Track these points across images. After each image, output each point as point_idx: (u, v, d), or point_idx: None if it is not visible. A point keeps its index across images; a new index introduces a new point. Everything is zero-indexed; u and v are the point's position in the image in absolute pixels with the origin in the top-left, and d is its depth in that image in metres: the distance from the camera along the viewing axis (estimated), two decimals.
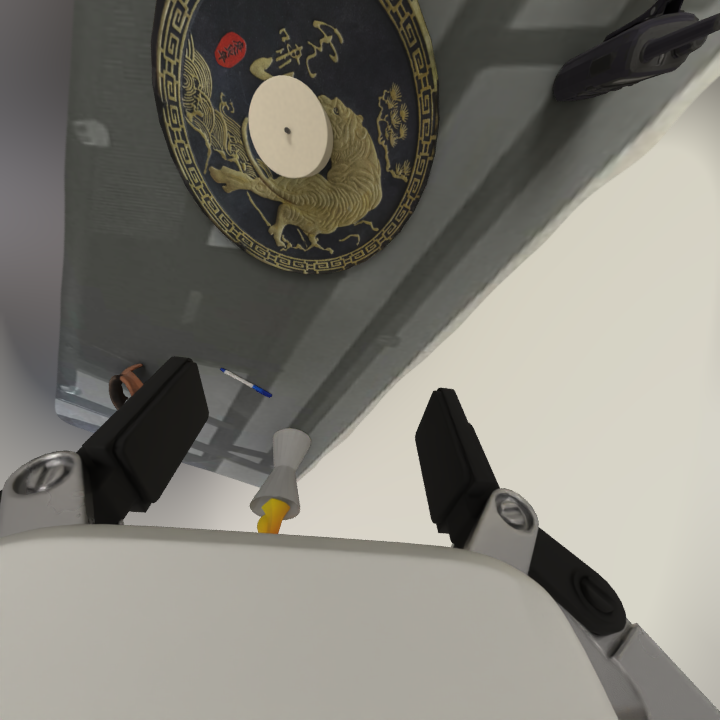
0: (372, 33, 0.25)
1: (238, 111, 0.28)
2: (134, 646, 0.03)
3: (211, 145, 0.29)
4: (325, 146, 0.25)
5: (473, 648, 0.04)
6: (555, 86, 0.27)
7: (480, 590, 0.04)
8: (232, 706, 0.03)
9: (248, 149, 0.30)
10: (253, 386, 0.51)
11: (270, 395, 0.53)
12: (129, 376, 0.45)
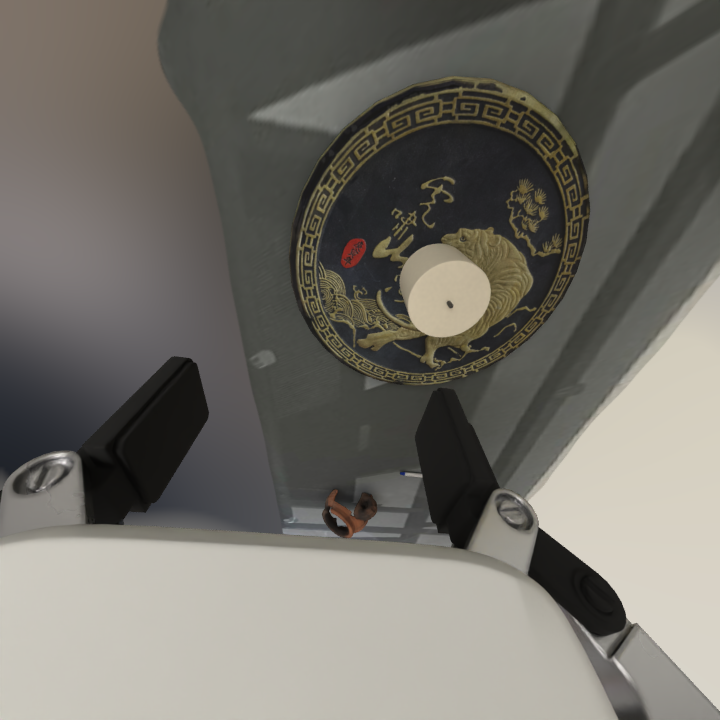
0: (484, 155, 0.22)
1: (370, 290, 0.29)
2: (135, 646, 0.03)
3: (354, 325, 0.31)
4: (489, 294, 0.23)
5: (473, 648, 0.04)
6: None
7: (480, 590, 0.04)
8: (232, 706, 0.03)
9: (386, 312, 0.30)
10: None
11: None
12: (336, 507, 0.51)
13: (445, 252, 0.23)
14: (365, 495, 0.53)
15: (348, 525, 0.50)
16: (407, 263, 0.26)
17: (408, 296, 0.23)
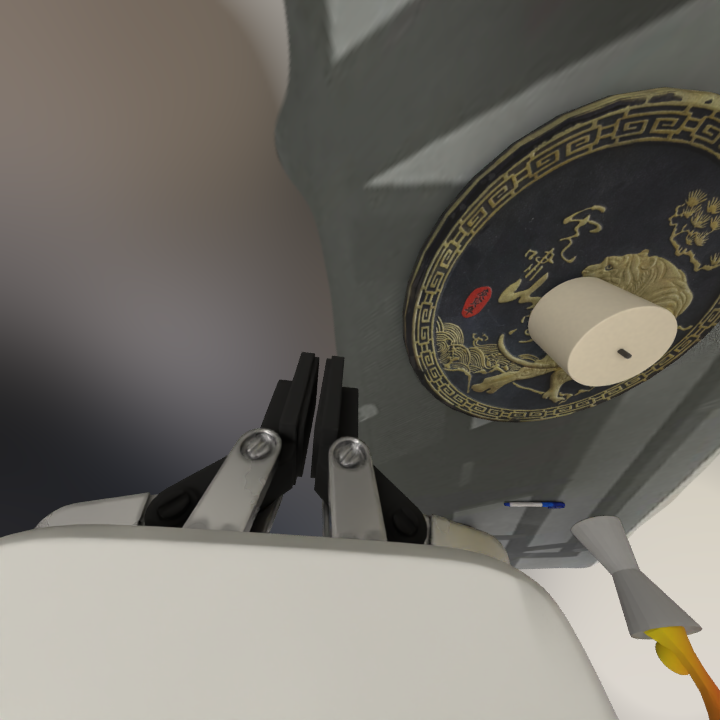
0: (647, 173, 0.19)
1: (492, 335, 0.26)
2: (135, 646, 0.03)
3: (470, 372, 0.29)
4: (674, 335, 0.19)
5: (473, 648, 0.04)
6: None
7: (480, 590, 0.04)
8: (232, 706, 0.03)
9: (508, 354, 0.27)
10: (543, 505, 0.47)
11: (563, 504, 0.47)
12: None
13: (607, 293, 0.20)
14: None
15: None
16: (543, 304, 0.23)
17: (569, 350, 0.20)
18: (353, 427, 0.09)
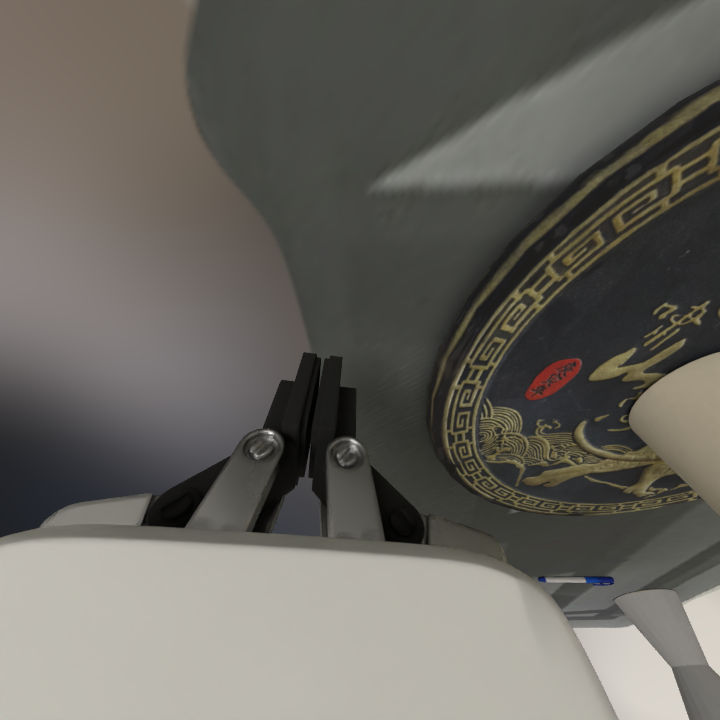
0: None
1: (568, 422, 0.17)
2: (134, 647, 0.03)
3: (524, 464, 0.19)
4: None
5: (473, 648, 0.04)
6: None
7: (480, 590, 0.04)
8: (232, 706, 0.03)
9: (587, 445, 0.18)
10: (586, 581, 0.38)
11: (612, 580, 0.38)
12: None
13: None
14: None
15: None
16: (672, 390, 0.14)
17: None
18: (351, 427, 0.09)
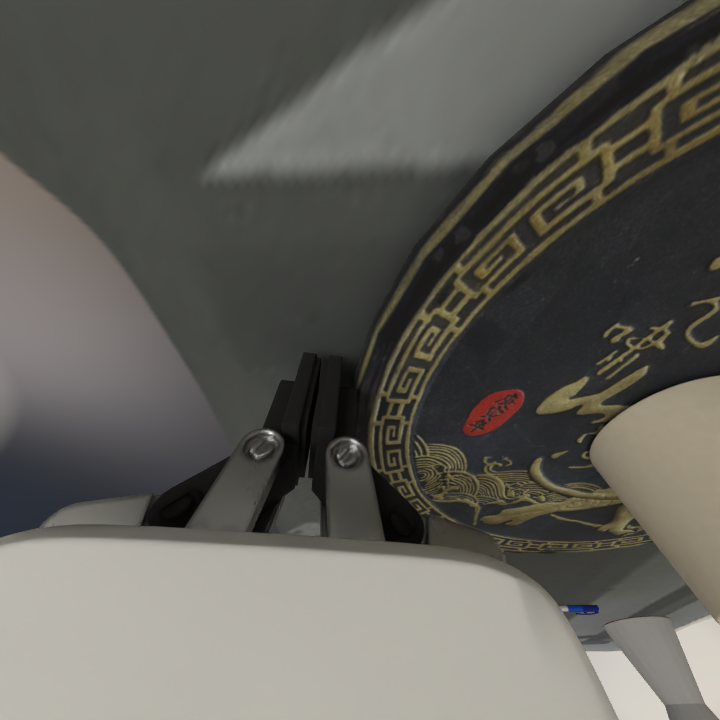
0: None
1: (520, 459, 0.14)
2: (135, 646, 0.03)
3: (478, 503, 0.17)
4: None
5: (473, 648, 0.04)
6: None
7: (480, 590, 0.04)
8: (232, 706, 0.03)
9: (547, 483, 0.15)
10: (569, 609, 0.35)
11: (596, 609, 0.35)
12: None
13: None
14: None
15: None
16: (634, 428, 0.11)
17: None
18: (351, 427, 0.09)
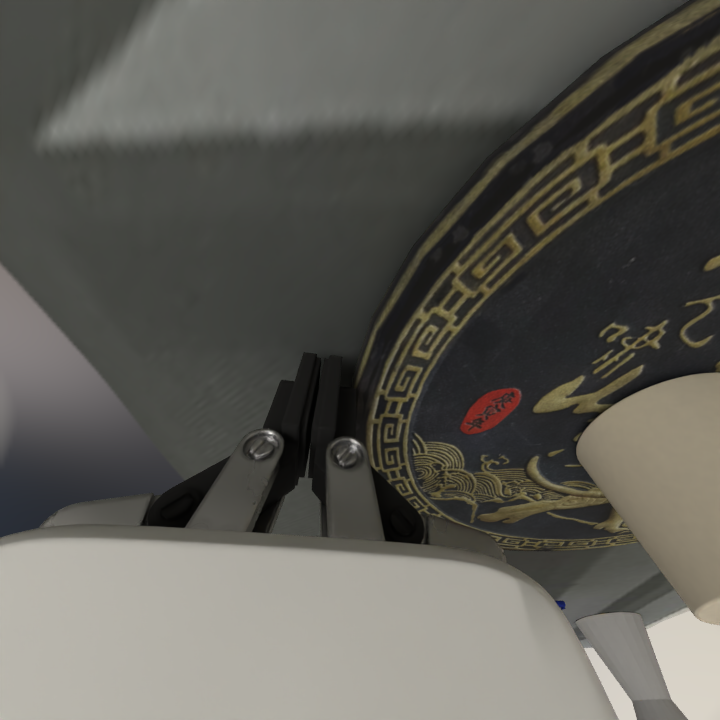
0: None
1: (517, 457, 0.14)
2: (135, 646, 0.03)
3: (475, 501, 0.17)
4: None
5: (473, 648, 0.04)
6: None
7: (480, 590, 0.04)
8: (232, 706, 0.03)
9: (544, 481, 0.15)
10: None
11: (563, 604, 0.35)
12: None
13: None
14: None
15: None
16: (617, 426, 0.11)
17: (710, 587, 0.08)
18: (351, 427, 0.09)
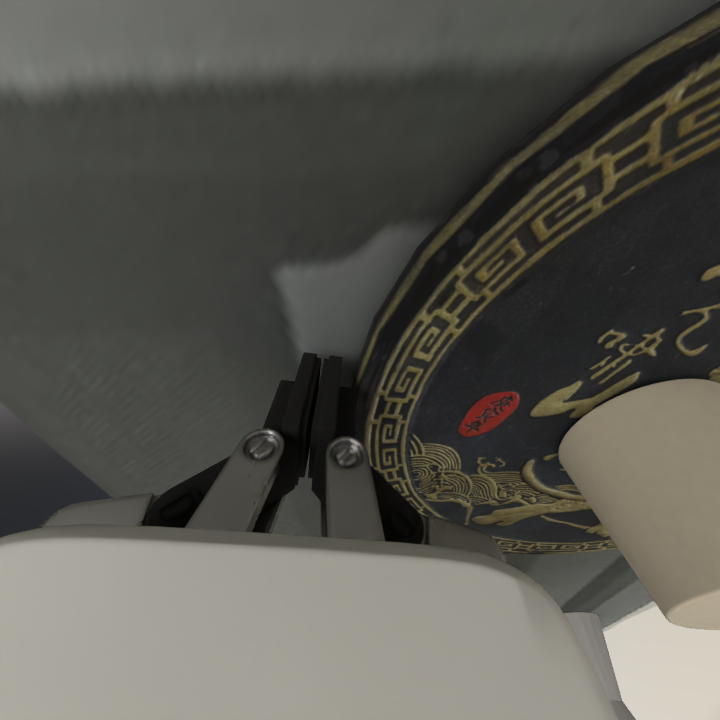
0: None
1: (513, 461, 0.14)
2: (135, 647, 0.03)
3: (470, 503, 0.17)
4: None
5: (473, 648, 0.04)
6: None
7: (480, 590, 0.04)
8: (232, 706, 0.03)
9: (539, 485, 0.16)
10: None
11: None
12: None
13: None
14: None
15: None
16: (597, 430, 0.11)
17: (679, 590, 0.08)
18: (351, 427, 0.09)
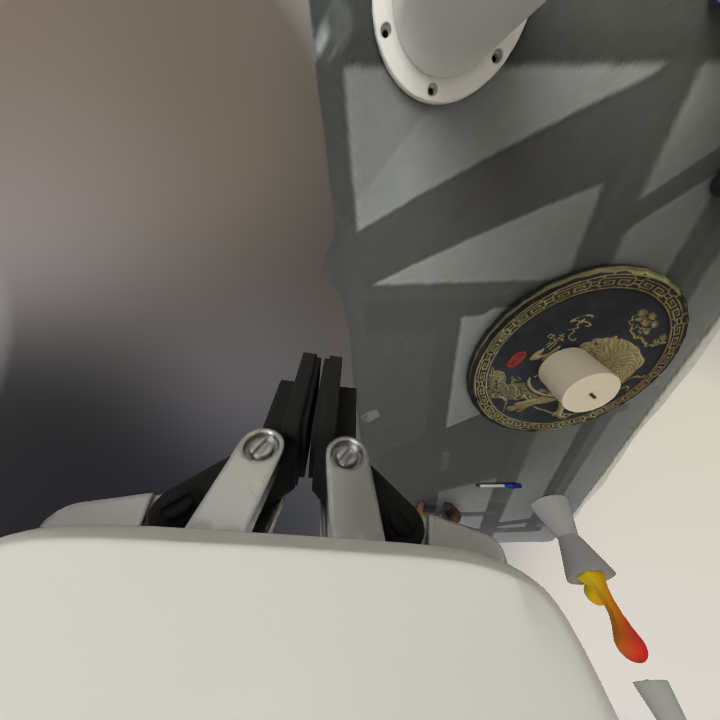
0: (615, 301, 0.35)
1: (523, 378, 0.42)
2: (134, 646, 0.03)
3: (506, 399, 0.45)
4: (619, 387, 0.35)
5: (473, 648, 0.04)
6: (715, 193, 0.29)
7: (480, 590, 0.04)
8: (232, 706, 0.03)
9: (532, 389, 0.43)
10: (505, 485, 0.62)
11: (520, 485, 0.62)
12: None
13: (584, 361, 0.36)
14: (447, 505, 0.65)
15: None
16: (548, 362, 0.39)
17: (562, 393, 0.36)
18: (351, 427, 0.09)
